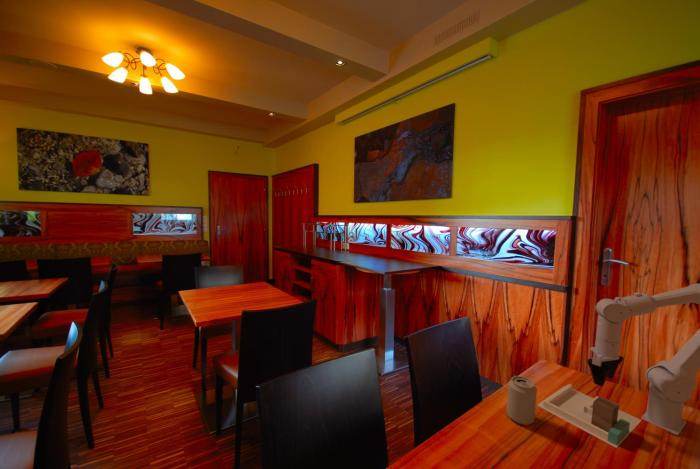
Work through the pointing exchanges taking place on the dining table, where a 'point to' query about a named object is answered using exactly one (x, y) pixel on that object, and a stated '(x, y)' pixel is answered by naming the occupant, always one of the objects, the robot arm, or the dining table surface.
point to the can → (521, 400)
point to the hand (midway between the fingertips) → (603, 380)
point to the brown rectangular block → (604, 413)
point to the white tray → (587, 415)
